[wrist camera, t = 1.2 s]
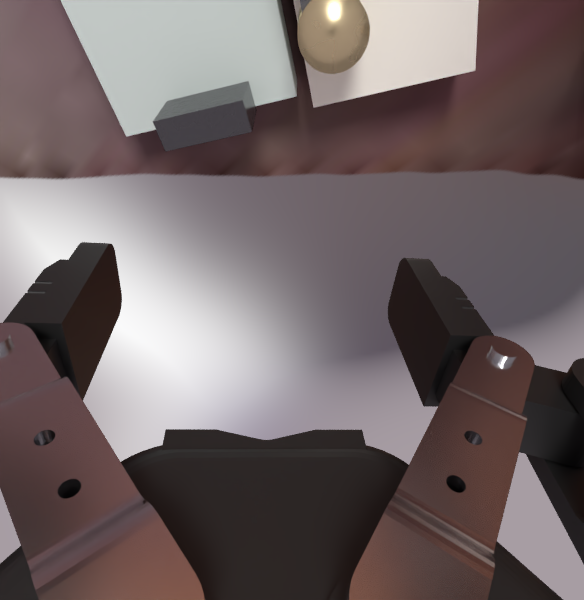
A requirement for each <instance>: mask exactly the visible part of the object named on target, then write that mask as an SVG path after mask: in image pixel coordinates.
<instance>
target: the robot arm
mask: <svg viewBox="0 0 584 600" xmlns="http://www.w3.org/2000/svg"><path fill="white" fill-rule="evenodd" d="M121 302H122V295H121V288H120V281H119V275H118V268H117V262H116V256H115V250H114V247H113V245H112V244H105V243H85V242H84V243H80V244H79V246H78V247H77V248H76V250H75V251H74V253H73V254H72V255H71V257H70V258H69V260H59V261H57V262H56V263H54V264H52V265H51V266H49V267H47V268H46V269H44V270H43V272H42V273H41V274H40V275H39V276H38V278H37V279H36V281H35V283H34V284H32V286H31V287H30V288H29V290H28V293H25V295H24V296H23V297H22V298H21V300H20V301H19V302H18V304H17V305H16V306H15V308H14V309H13V310H12V311H11V313H10V314H9V315H8V317H7V318H6V319H5V321H4V322H3V323H0V489H1V491H2V494H3V497H4V500H5V502H6V505H7V508H8V511H9V513H10V516H11V519H12V522H13V524H14V527H15V529H16V532H17V535H18V538H19V541H20V543H21V546H20V547H19V548H18V549H17V550H16V551H15V552H13V553H12V554H11V555H10V556H9V557H7V558H6V559H5V560H4V561H3V562H2V563H1V564H0V600H563V599H562V598H561V597H559V596H558V595H557V594H556V593H555V592H554V591H552V590H551V589H550V588H549V587H548V586H547V585H546V584H545V583H543V582H542V581H541V580H540V579H539V578H538V577H537V576H536V575H534V574H533V573H532V572H531V571H530V570H528V569H527V567H525V566H524V565H523V564H522V563H521V562H520V561H519V560H517V559H516V558H515V557H514V556H513V555H512V554H511V553H510V552H508V551H507V550H506V549H505V548H504V547H503V546H502V545H500V544H499V543H498V542H497V537H498V533H499V529H500V525H501V521H502V517H503V513H504V509H505V505H506V501H507V497H508V493H509V489H510V485H511V481H512V478H513V473H514V469H515V466H516V462H517V458H518V453H519V452H521V453H525V454H526V455H527V457H528V459H529V461H530V463H531V465H532V467H533V469H534V470H535V472H536V474H537V476H538V478H539V480H540V482H541V484H542V485H543V488H544V489H545V491H546V493H547V495H548V497H549V499H550V501H551V503H552V505H553V506H554V508H555V510H556V512H557V514H558V516H559V518H560V520H561V521H562V523H563V525H564V527H565V529H566V531H567V533H568V535H569V537H570V539H571V541H572V542H573V544H574V546H575V548H576V550H577V552H578V554H579V556H580V558H581V560H582V562H583V564H584V358H582V359H578V360H576V361H574V362H573V364H572V366H571V367H570V369H569V371H568V372H567V373H565V372H561V371H557V370H552V369H548V368H544V367H540V366H536V365H535V364H534V360H533V358H532V357H531V355H530V354H529V353H528V352H527V351H526V350H525V349H524V348H522V347H521V346H519V345H518V344H516V343H514V342H512V341H510V340H507V339H505V338H501V337H498V336H494V335H493V333H492V332H491V330H490V329H489V328H488V326H487V325H486V323H485V322H484V320H483V319H482V318H481V316H480V315H479V313H478V312H477V310H475V309H474V306H473V305H472V303H471V302H470V301H469V300H467V296H466V295H465V294H464V292H463V291H462V289H461V288H460V287H459V286H458V285H457V284H455V283H454V282H453V281H451V280H450V279H448V278H447V277H443V276H441V275H440V274H439V272H438V271H437V269H436V268H435V266H434V265H433V263H432V262H431V261H430V260H429V259H414V258H403V259H402V260H401V261H400V263H399V266H398V270H397V273H396V277H395V281H394V285H393V289H392V292H391V296H390V300H389V305H388V319H389V323H390V326H391V328H392V330H393V333H394V336H395V338H396V341H397V343H398V345H399V348H400V350H401V352H402V355H403V357H404V360H405V362H406V365H407V367H408V370H409V372H410V374H411V377H412V379H413V382H414V384H415V387H416V389H417V391H418V394H419V396H420V398H421V401H422V404H423V406H438V408H437V410H436V412H435V414H434V417H433V418H432V420H431V422H430V424H429V427H428V429H427V431H426V432H425V434H424V436H423V438H422V440H421V442H420V444H419V446H418V448H417V450H416V452H415V454H414V456H413V458H412V461H411V462H410V464H409V465H408V464H407V463H405V462H404V461H402V460H401V459H399V458H397V457H395V456H394V455H391V454H389V453H387V452H385V451H383V450H380V449H376V448H374V447H370V446H366V444H365V440H364V436H363V432H362V430H313V431H308V432H304V433H299V434H295V435H290V436H286V437H282V438H278V439H273V440H261V439H256V438H251V437H247V436H242V435H238V434H233V433H228V432H224V431H220V430H166V431H165V437H164V441H163V445H162V446H158V447H154V448H151V449H148V450H145V451H142V452H140V453H137V454H135V455H133V456H131V457H129V458H127V459H125V460H123V461H122V462H120V461H119V459H118V457H117V456H116V454H115V453H114V451H113V449H112V448H111V446H110V444H109V443H108V441H107V440H106V438H105V436H104V435H103V433H102V431H101V430H100V428H99V427H98V425H97V423H96V422H95V420H94V418H93V417H92V415H91V414H90V412H89V410H88V409H87V407H86V406H85V404H84V402H83V398H84V397H85V394H86V392H87V390H88V387H89V385H90V382H91V380H92V378H93V375H94V373H95V371H96V368H97V366H98V364H99V361H100V359H101V357H102V354H103V352H104V350H105V347H106V345H107V343H108V340H109V338H110V335H111V333H112V331H113V328H114V326H115V324H116V321H117V319H118V317H119V314H120V310H121Z"/></svg>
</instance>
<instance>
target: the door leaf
mask: <svg viewBox="0 0 584 600" xmlns="http://www.w3.org/2000/svg"><path fill="white" fill-rule="evenodd" d="M61 2H62V4H63V6H64V8H65V10H66V12H67V15H68V17H69V19H70V21H71V23H72V25H73V27H74V29H75V31H76V33H77V35H78V37H79V39H80V41H81V44H82V46H83V48H84V50H85V52H86V54H87V56H88V58H89V60H90V62H91V64H92V66H93V68H94V70H95V73H96V75H97V77H98V79H99V81H100V83H101V85H102V87H103V89H104V91H105V93H106V95H107V97H108V99H109V102H110V104H111V106H112V108H113V110H114V112H115V114H116V116H117V118H118V120H119V122H120V124H121V126H122V128H123V131H124V133H125V135H126V137H127V136H131V135H135V134H139V133H144V132H148V131H152V130H156V128H155V126H154V124H153V120H154V119H155V117H156V116H157V115H158V113H159V112H160V110H161V109H162V107H163V106H164V104H165V103H166V102H167V101H169V100H173V99H177V98H181V97H185V96H189V95H193V94H197V93H201V92H205V91H210V90H214V89H218V88H222V87H226V86H230V85H234V84H238V83H242V82H246V81H249V85H250V88H251V92H252V96H253V99H254V103H255V106H258V105H263V104H267V103H271V102H275V101H280V100H284V99H288V98H292V97H297V77H296V72H295V67H294V62H293V57H292V52H291V47H290V42H289V37H288V32H287V27H286V23H285V18H284V13H283V8H282V3H281V0H61Z"/></svg>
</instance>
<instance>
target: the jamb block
mask: <svg viewBox="0 0 584 600" xmlns="http://www.w3.org/2000/svg"><path fill="white" fill-rule="evenodd" d="M293 1H294V6H295V12H296V17H297V22H298V14H299V9H300V6H301V4H300V0H293ZM360 2H361V4H362V5H363V7H364V9H365V10H366V13H367V15H368V19H369V24H370V36H369V42H368V45H367V48H366V50H365V52H364V54H363V56H362V57H361V58H360V60H359V61H358V62H357V63H356V64H355V65H354V66H353V67H351V68H350V69H348V70H346V71H344V72H341V73H337V74H326V73H322V72H319V71H317V70H315V69H314V68H312V67H311V66H310V65H309V64H308V63H307V62H306V60H305V59H304V60H305V65H306V70H307V76H308V81H309V86H310V92H311V97H312V102H313V108H315V107H319V106H323V105H328V104H332V103H337V102H341V101H345V100H350V99H354V98H358V97H363V96H367V95H371V94H376V93H380V92H384V91H389V90H393V89H398V88H402V87H406V86H411V85H415V84H419V83H424V82H428V81H432V80H437V79H441V78H446V77H450V76H454V75H459V74H463V73H467V72H472V71H475V64H476V43H477V22H478V0H360Z"/></svg>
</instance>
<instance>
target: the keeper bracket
mask: <svg viewBox="0 0 584 600" xmlns="http://www.w3.org/2000/svg"><path fill="white" fill-rule="evenodd" d="M256 111H257V110H256V107H255V103H254V99H253V96H252V92H251V88H250V85H249V81H246V82H242V83H238V84H234V85H230V86H226V87H222V88H218V89H214V90H210V91H205V92H201V93H197V94H193V95H189V96H185V97H181V98H177V99H173V100H169V101H167V102H166V103H165V104H164V106H163V107H162V109H161V110H160V112H159V113H158V115H157V116H156V117H155V119H154V120H153V124H154V126H155V128H156V131H157V133H158V135H159V138H160V140H161V142H162V144H163V147H164V149H165V151H170V150H174V149H178V148H183V147H187V146H192V145H196V144H201V143H205V142H209V141H214V140H218V139H223V138H227V137H232V136H236V135H240V134H245V133H249V132H252V129H253V124H254V120H255V115H256Z"/></svg>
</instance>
